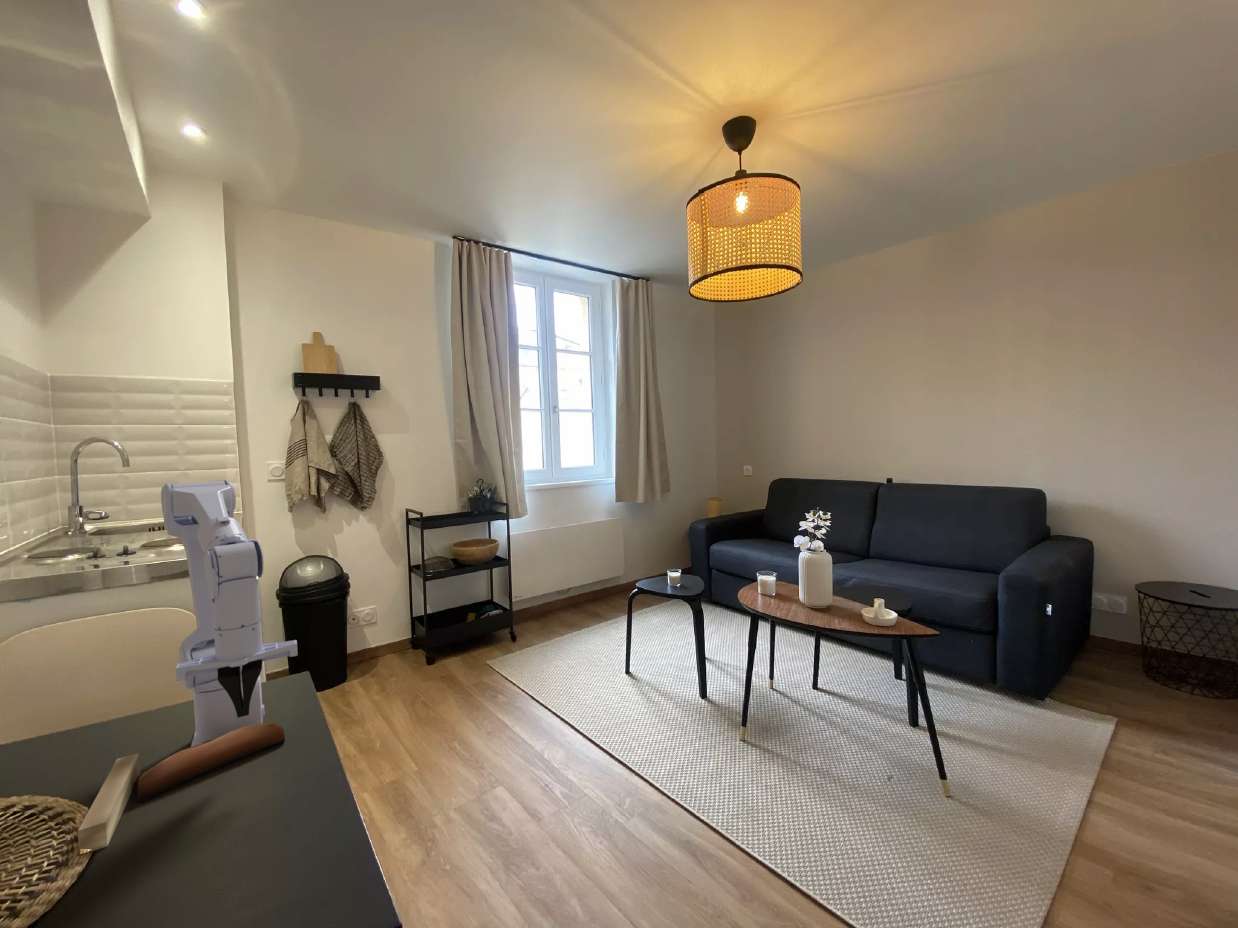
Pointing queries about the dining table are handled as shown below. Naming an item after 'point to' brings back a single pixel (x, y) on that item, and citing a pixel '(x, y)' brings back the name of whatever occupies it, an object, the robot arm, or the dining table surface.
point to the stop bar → (109, 804)
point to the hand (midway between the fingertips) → (243, 713)
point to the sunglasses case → (206, 757)
